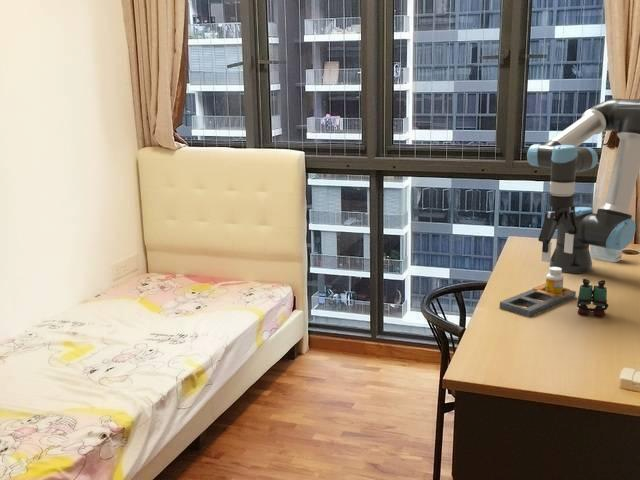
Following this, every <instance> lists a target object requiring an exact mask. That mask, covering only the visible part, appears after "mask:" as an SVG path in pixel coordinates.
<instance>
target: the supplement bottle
mask: <svg viewBox="0 0 640 480" xmlns="http://www.w3.org/2000/svg"><path fill="white" fill-rule="evenodd" d="M545 278H546V279H545V280H546V281H545V283H546V288H545V291H547V292H551V293H554V294H559V293H562V290H563V287H564V275H563V273H562V268H559V267H550V266H549V268H548V274H546V277H545Z"/></svg>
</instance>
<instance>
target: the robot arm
mask: <svg viewBox="0 0 640 480" xmlns="http://www.w3.org/2000/svg"><path fill="white" fill-rule="evenodd" d="M608 131H611V132H616V136H617V138H618V139H619V142H618V148H617V152H616V155H615V159H614V163H613V166H612V171H611V174H610V177H609V178H610V179H609V183H608V185H607V190H606V193H605V194H606V195H605V197H604V202H603V205H601V206H599V207H598V208H597V209H596V210H597V211H596V213H594V210H593V208H592V207H589V206H575V205H574V202H575V201H574V200H575V195H574V194H575V188H576V187H575V186H576V174H578V173H582V172H587V171H590V170H591V169H592V170H593V168H595V166H596V165H597V164H598V161H599V157H598V153H597V151H596V150H595V149H594V148H592V147H589V146H588V147H587V146H585V147H584V146H583V147H580V148H579V146H580V145H582V144H583V143H585V142H586V141H588V140H589V139H590V138H591V137H593V136H594V135H599V134H602V133H603V132H608ZM526 158H527V163H528V164H529V165H530V166H533V167H537V168H546V169H550V170H551V171H550V182H549V196H548V205H549V207H551V211H549V210H548V211H545V216H544V221H543V224H542V227H541V230H540V233H539V237H538V242H540V243H542V248H541V261H542V262H546V263H549V268H550V267H559V268H562V272H563V273H568V274H569V273H571V274H583V273H590V272H591V271H592V270H593V262H592V258H591V256H590V246H591V245H593V246H598V247H603V248H607V249H614V250H622V251H623V250H624V249H626V248H627V247H628V246H629V245H630V244H631V242H632V241H633V239H634V236H635V235H636V229H637V228H636V225H637V224H636V222H635V220H634V219H632V218H633V213H632V212H631V211H630V207H631V203H632V199H633V195H634V192H635V188H636V183H637V179H638V177H639V172H640V99H639V98H637V99H636V98H633V99H632V98H613V99H608V100H604V101H602V102H600V103H597V104H595V105H593V106H592V107H590V108H588V109H587V110H586V111H584V112H583V113H582V114H581V117H580V118H579V119H577V120H576V121H575V122H573V123H572V124H570V125H569V126H568V127H566V128H565V129H563V130H562V131H561V132H559V133H558V134H556V135H554V137H552V138H550V139H549V140H547V141H546V142H545V143H543V144H541V143H538V144H537V143H536V144H532V145H530V146H529V148H528V150H527V153H526ZM556 229H557V231H556ZM555 232H556V245H555V248H554V250H553V252H552V242H551V240H552V239H553V237H554V235H555ZM551 254H552V255H551Z"/></svg>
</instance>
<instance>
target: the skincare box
mask: <svg viewBox="0 0 640 480" xmlns="http://www.w3.org/2000/svg"><path fill="white" fill-rule="evenodd" d="M589 252H590V256H591V259H594V260H600V261H604V262H608V263H613V262H614V263H613V264H615V263H617V262H620V261H622V256H623V255H622V254H623V249H622V250H614V249H607V248H603V247H598V246H593V245H589Z"/></svg>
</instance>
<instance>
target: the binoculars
mask: <svg viewBox="0 0 640 480" xmlns="http://www.w3.org/2000/svg"><path fill="white" fill-rule="evenodd" d="M582 283H583V284H581V285H580V286H579V290H578V296H577V302H576V303H577V304H576V307H577V308H578V309H577V314H578V315H579V316H581V317H588V316H589V314H590V312H593V317H595V318H598V319H599V318H600V319H601V318H604V317H605V316H606V314H605V313H606V310H607V309H608V308H609V304H608V303H607V302H608V299H607V295H608V294H607V292H608V291H607V290H608V289H607V287H606V280H604V279H603V280H599V281H597V284H598V285H594V286H593V285H592V284H590V283H591V281H590V280H589V279H588V278H587V279H586V278H582ZM591 304H592V305H593V306H595V307H593V308H592V307H589V306H590V305H591Z"/></svg>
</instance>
